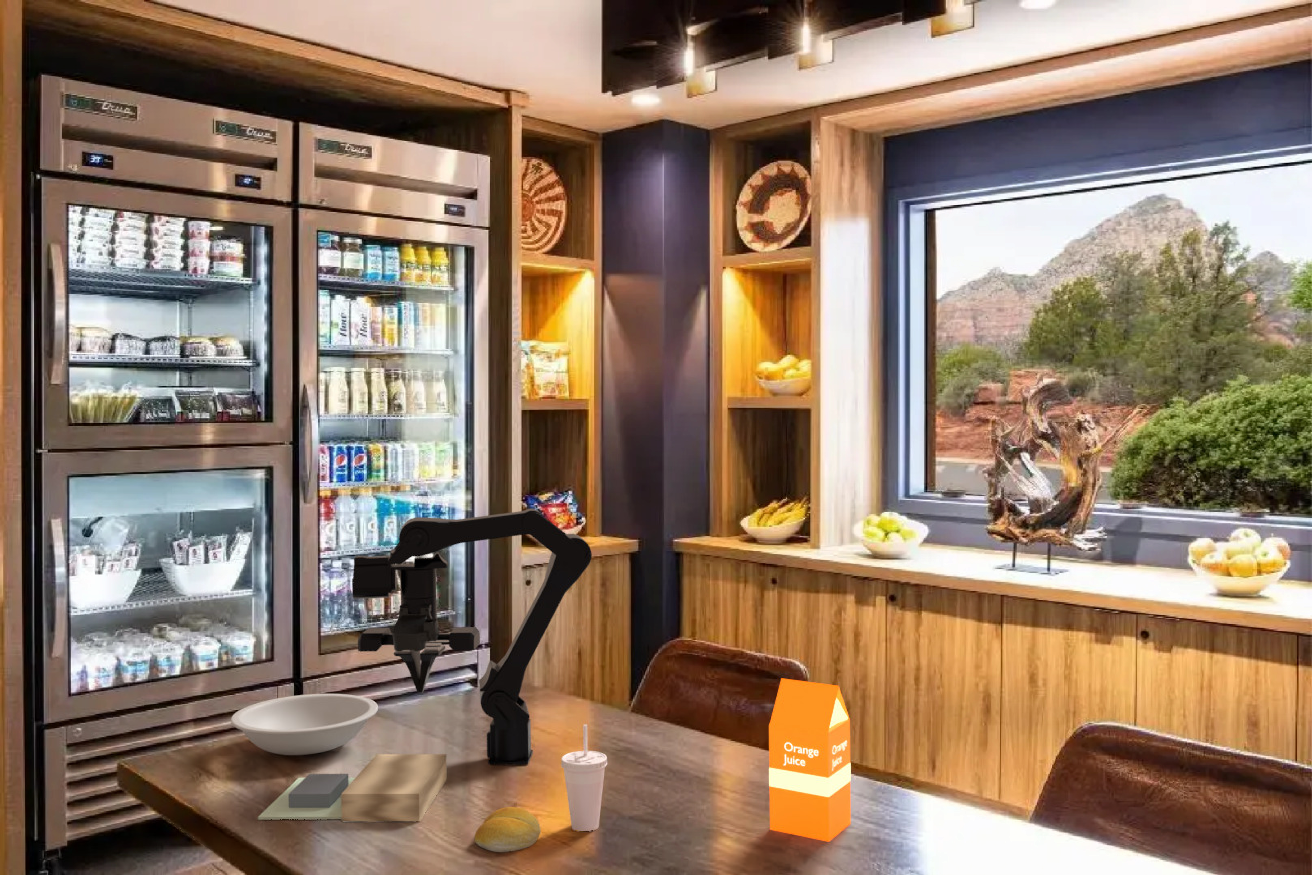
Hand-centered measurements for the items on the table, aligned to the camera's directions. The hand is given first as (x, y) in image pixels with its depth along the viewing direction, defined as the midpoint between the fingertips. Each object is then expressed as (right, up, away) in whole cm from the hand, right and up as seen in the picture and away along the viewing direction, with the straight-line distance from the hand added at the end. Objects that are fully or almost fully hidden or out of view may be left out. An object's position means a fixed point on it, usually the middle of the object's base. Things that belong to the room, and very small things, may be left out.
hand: (420, 692), depth 185 cm
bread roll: (+18, -13, -32) cm, 39 cm away
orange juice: (+59, -12, -28) cm, 67 cm away
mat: (-12, -13, -15) cm, 23 cm away
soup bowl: (-22, -12, +10) cm, 27 cm away
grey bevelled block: (-12, -10, -15) cm, 22 cm away
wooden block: (0, -13, -16) cm, 20 cm away
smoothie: (+28, -13, -27) cm, 42 cm away
